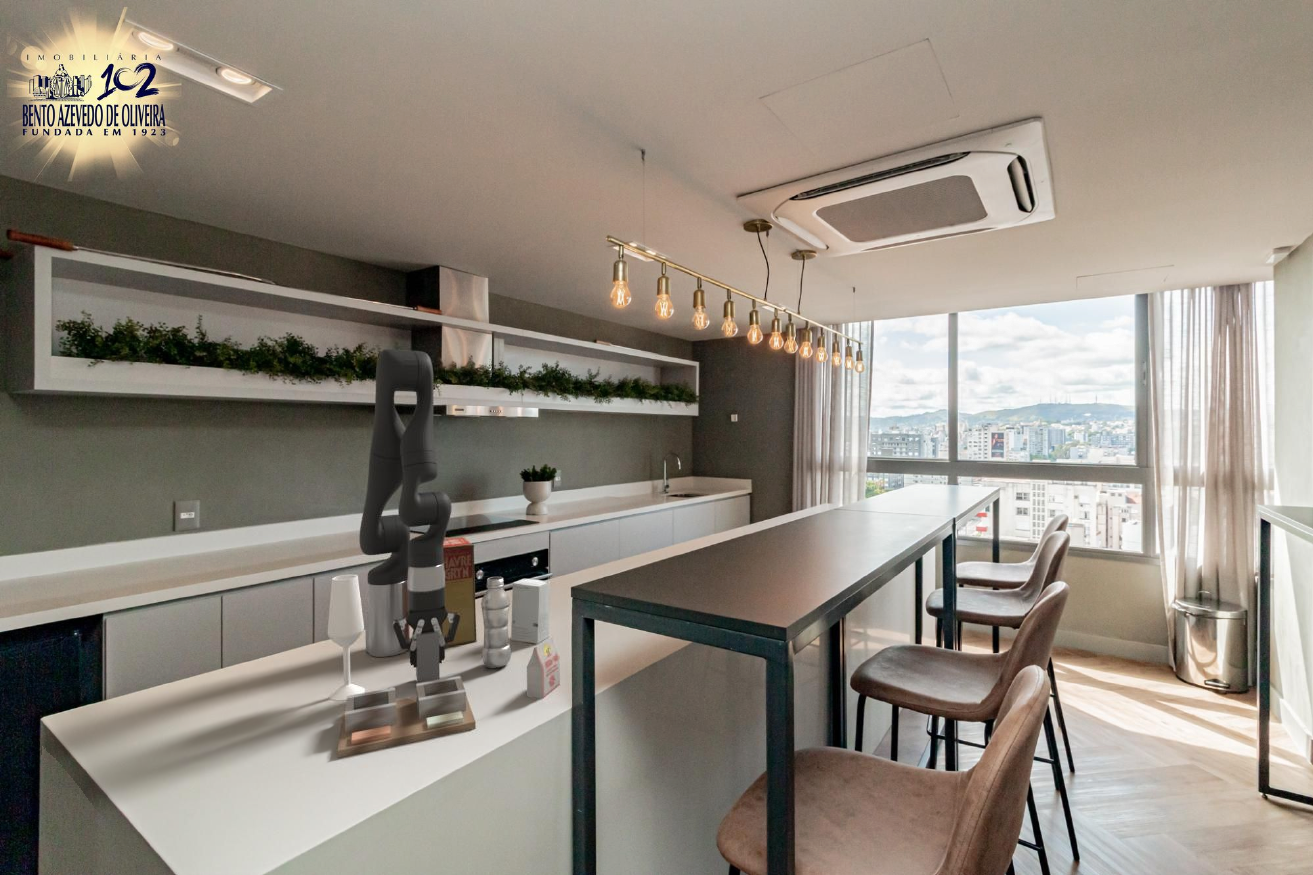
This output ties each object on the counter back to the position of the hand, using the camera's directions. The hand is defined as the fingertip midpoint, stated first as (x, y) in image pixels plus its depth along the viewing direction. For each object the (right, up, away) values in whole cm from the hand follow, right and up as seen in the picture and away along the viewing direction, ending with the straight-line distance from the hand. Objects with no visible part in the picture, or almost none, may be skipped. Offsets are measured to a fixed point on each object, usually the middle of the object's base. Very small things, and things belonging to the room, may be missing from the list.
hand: (427, 663), depth 130 cm
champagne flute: (-15, -4, -5) cm, 16 cm away
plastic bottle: (+13, -4, +8) cm, 16 cm away
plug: (0, -3, 0) cm, 3 cm away
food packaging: (-4, -4, +28) cm, 28 cm away
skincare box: (+17, -3, +26) cm, 31 cm away
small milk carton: (+26, -4, -5) cm, 27 cm away
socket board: (+3, -4, -18) cm, 19 cm away
